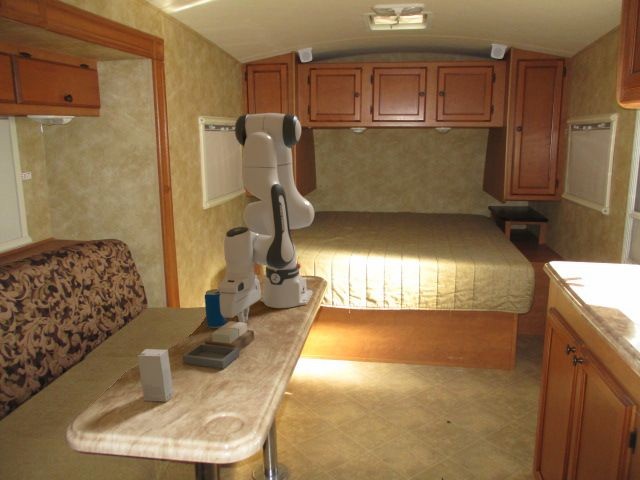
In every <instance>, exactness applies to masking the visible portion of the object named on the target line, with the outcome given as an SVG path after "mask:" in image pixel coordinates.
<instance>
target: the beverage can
mask: <svg viewBox="0 0 640 480" xmlns="http://www.w3.org/2000/svg"><path fill="white" fill-rule="evenodd" d="M220 294H221V292H219V291H218V288H213V289H212V288H211V289H209V290H208V289H207V290H206V291H205V294H204V307H205V318H206V327H209V328H210V329H219V328H221V327H222V326H224V325H225V324H226V323H227V317H223V316H222V315H221V311H220Z"/></svg>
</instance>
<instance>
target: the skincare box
mask: <svg viewBox="0 0 640 480" xmlns="http://www.w3.org/2000/svg"><path fill="white" fill-rule="evenodd" d="M137 361H138V367H139V368H138V369H139V373H140V381H141V388H142V393H143V400H144V401H145V402H146V401H147V402H161V403H163V402H164V403H167V401H168V402H169V400H170V399H171V398H172V397H173V396H174V387H173V379H172V373H171V372H172V371H171V364H170V357H169V350H168V349H154V348H153V349H152V348H151V349H149V348H145V349H144V350H143V351H142V352H140V354H138V355H137Z"/></svg>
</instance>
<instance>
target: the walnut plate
mask: <svg viewBox="0 0 640 480" xmlns="http://www.w3.org/2000/svg"><path fill="white" fill-rule="evenodd" d="M254 341H255V330H250V329H247V331H246V332H245V333H244V334H242V335H241V336H240V337H238V338H237V339H236V340H234V341H233V342H232V343H230V344H229V343H221V342H213V341H212V336H211V337H210V338H208V339H207V340H205V341H204V344H209V345H217V346H225V347H233V348H239V353H241V351H243V350H244V349H245V348H246V347H247V346H248V345H250V344H251V343H252V342H254Z"/></svg>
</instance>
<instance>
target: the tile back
mask: <svg viewBox="0 0 640 480" xmlns="http://www.w3.org/2000/svg"><path fill="white" fill-rule="evenodd" d="M221 328H230V329H238V337H240V336H241V335H242V334H244V333H245V332H246V331H247V330H248V324H247V322H244V323H241V322H239V321H231V320H229V321H227V322H226V324H225V325H224V326H222V327H221Z"/></svg>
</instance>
